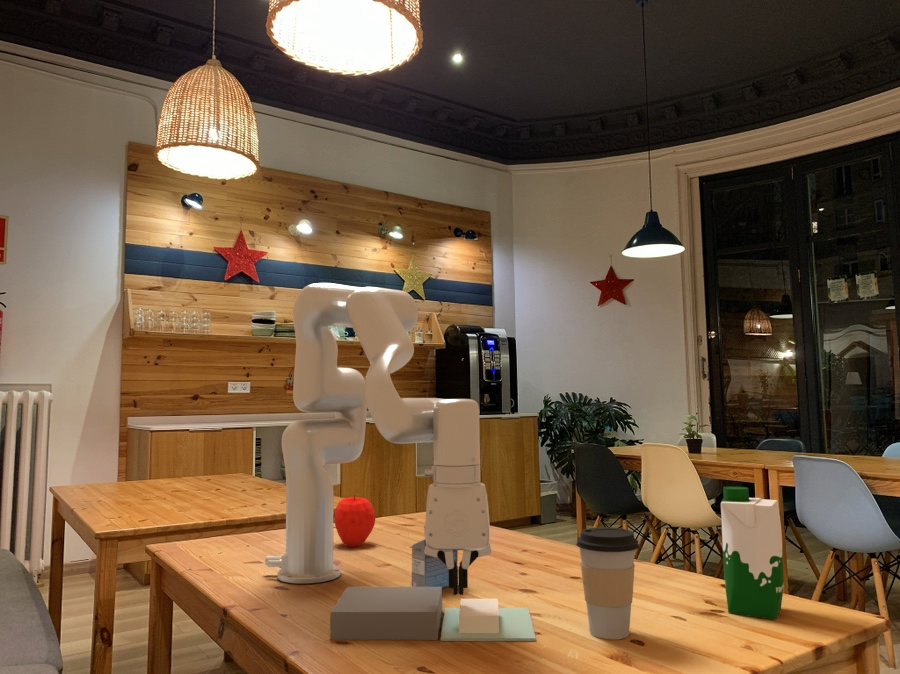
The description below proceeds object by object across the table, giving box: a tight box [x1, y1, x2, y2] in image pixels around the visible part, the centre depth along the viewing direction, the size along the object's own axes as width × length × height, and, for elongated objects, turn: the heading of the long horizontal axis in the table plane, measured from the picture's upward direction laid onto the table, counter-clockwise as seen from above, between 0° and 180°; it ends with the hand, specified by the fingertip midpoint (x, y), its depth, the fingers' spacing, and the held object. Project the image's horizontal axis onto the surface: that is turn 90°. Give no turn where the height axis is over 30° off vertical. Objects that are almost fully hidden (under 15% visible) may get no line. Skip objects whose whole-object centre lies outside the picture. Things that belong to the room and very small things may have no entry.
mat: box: [440, 607, 537, 642], centre depth 110 cm, size 14×15×1 cm
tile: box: [459, 598, 499, 633], centre depth 109 cm, size 6×9×2 cm, turn 177°
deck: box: [329, 586, 443, 641], centre depth 110 cm, size 16×14×4 cm
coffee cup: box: [575, 526, 640, 641], centre depth 106 cm, size 9×9×15 cm
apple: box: [334, 494, 376, 548], centre depth 171 cm, size 10×10×12 cm
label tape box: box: [411, 525, 459, 589], centre depth 132 cm, size 9×4×12 cm, turn 135°
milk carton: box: [720, 485, 785, 620], centre depth 116 cm, size 9×9×20 cm
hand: (458, 592), depth 110 cm, fingers closed
